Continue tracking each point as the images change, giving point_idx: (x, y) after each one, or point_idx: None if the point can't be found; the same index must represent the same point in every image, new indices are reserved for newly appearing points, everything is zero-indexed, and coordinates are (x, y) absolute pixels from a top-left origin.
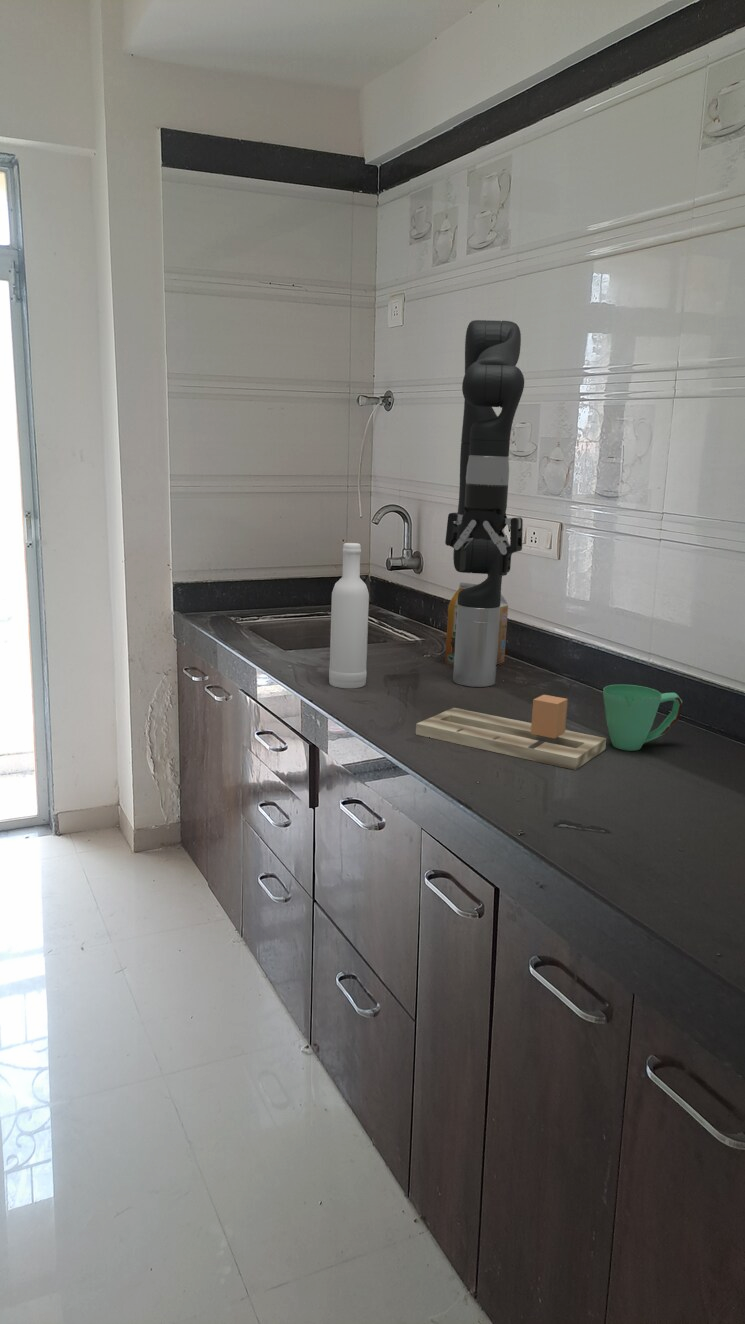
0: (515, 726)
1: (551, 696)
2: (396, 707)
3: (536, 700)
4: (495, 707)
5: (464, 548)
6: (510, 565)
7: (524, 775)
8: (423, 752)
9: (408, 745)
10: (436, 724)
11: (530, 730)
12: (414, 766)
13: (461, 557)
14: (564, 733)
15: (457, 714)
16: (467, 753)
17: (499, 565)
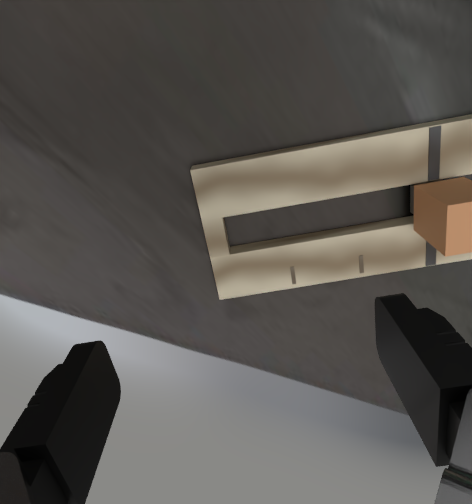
0: (352, 182)
1: (468, 206)
2: (73, 195)
3: (451, 255)
4: (193, 11)
5: (36, 474)
6: (459, 334)
7: (442, 312)
8: (284, 338)
9: (249, 332)
10: (245, 279)
11: (386, 182)
12: (311, 381)
13: (93, 451)
14: (447, 147)
15: (228, 204)
16: (333, 299)
17: (404, 399)
